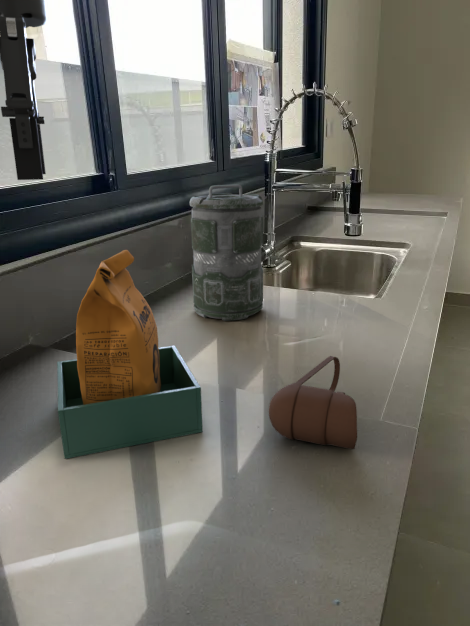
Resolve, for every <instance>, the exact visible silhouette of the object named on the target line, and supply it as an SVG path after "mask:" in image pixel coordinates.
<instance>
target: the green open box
mask: <svg viewBox="0 0 470 626" xmlns="http://www.w3.org/2000/svg"><path fill="white" fill-rule="evenodd" d="M158 349H159V364H160V366H159V369H160V380H161V389H160V392H158V393H152V394H146V395H140V396H134V397H127V398H121V399H115V400H109V401H103V402H97V403H91V404H85V405H83V400H82V394H81V388H80V380H79V375H78V369H77V358H74V359H68V360H59V361H57V362H56V366H57V367H56V368H57V369H56V370H57V374H56V375H57V415H58V422H59V430H60V436H61V442H62V450H63V456H64V457H63V458H64V459H65V460H67V459H72V458H78V457H82V456H87V455H92V454H97V453H102V452H108V451H112V450H117V449H123V448H129V447H134V446H138V445H143V444H148V443H154V442H158V441H164V440H168V439H173V438H179V437H183V436H189V435H195V434H199V433H203V431H204V430H203V407H202V406H203V405H202V404H203V403H202V387H201V385H200V384H199V382H198V380H197V379H196V378H195V375H194V374H193V373H192V371H191V369H190V367H189V366H188V365H187V363H186V361H185V360H184V358H183V357H182V355H181V353H180V352H179V350H178V349H177V347H176V346H175V345H169V346H162V347H158Z"/></svg>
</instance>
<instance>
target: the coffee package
mask: <svg viewBox="0 0 470 626" xmlns="http://www.w3.org/2000/svg"><path fill="white" fill-rule="evenodd" d="M134 261H135V257H134V256H133V254H131V252H130V251H129V250H128V249H123V250H122V251H120V252H118V253H116V254H114V255H112V256H110V257H108V258H106V259H104V260H101V262H100V264H99V265H98V268H97V269H96V272H95V275H94V277H93V279H92V280H91V282H90V284H89V286H88V288H87V290H86V293H85V295H84V296H83V298H82V299H81V302H80V305H79V308H78V311H77V314H76V321H75V322H76V325H75V329H76V330H75V346H76V347H75V348H76V349H75V350H76V359H77V369H78V375H79V380H80V388H81V394H82V400H83V405H85V404H91V403H97V402H103V401H109V400H115V399H121V398H127V397H134V396H140V395H146V394H152V393H158V392H160V389H161V380H160V369H159V366H160V364H159V349H158V348H159V332H158V325H157V322H156V319H155V316H154V313H153V310H152V308H151V306H150V305H149V303H148V302H147V300H146V299H145V298H144V296H143V294H142V292H140V291H139V289H137V287H136V286H135V284H134V280H133V278H132V276H131V274H130V271H129V270H127V268H128V267H129V266H131V265H132V264H133V263H134Z"/></svg>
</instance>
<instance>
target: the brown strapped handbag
mask: <svg viewBox="0 0 470 626" xmlns="http://www.w3.org/2000/svg"><path fill="white" fill-rule="evenodd" d="M332 361H333V363H334V367H333V368H334V369H333V377H332V381H331V384H330V387H329V389H328V388H322V387H316V386H311V385H310V386H309V385H304V384H305V383H306V382H307V381H309V379H311V378H312V377H313V376H315V375H316V374H317V373H318V372H320V371H321V370H322V369H323V368H325V367H326V366H327V365H328V364H330V362H332ZM340 373H341V363H340V359H339V357H337V356H333V355H329V356H328V357H326V358H325V359H324V360H322V361H321V362H320V363H318V364H317V365H316V366H315V367H313V368H312V369H311V370H310V371H309V372H307V373H305V374H304V375H303V376H302V377H300V378H299V379H298V380H297V381H296V382H292V383H290V384H287V385H284V386H283V387H282V388H280V389H278V390H277V391H276V392H275V394H274V395H273V396H272V397H271V399H270V402H269V405H268V418H269V421H270V423H271V425H272V427H273V429H274V430H275V431H276V432H277V433H278V434H280V436H282V437H285V438H286V439H289V440H293V441H294V440H298V441H303V442H307V443H312V444H316V445H317V444H318V445H322V446H327V445H330V446H334V447H339V448H343V449H344V448H345V449H349V450H355V448H356V446H357V445H356V444H357V441H358V411H357V404H356V401H355V399H354V398H352V397H351V396H350V395H348V394H346V392H342V391H336V389H337V386H338V383H339V379H340Z"/></svg>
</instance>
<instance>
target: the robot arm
mask: <svg viewBox="0 0 470 626" xmlns="http://www.w3.org/2000/svg"><path fill="white" fill-rule="evenodd" d="M48 19H49V17H48V8H47V0H0V63H1V69H2V71H3V79H4V80H3V81H4V91H5V100H4V102H5V106H0V112H1V116H2V118H8V119H9V126H10V135H11V141H12V150H13V157H14V164H15V171H16V178H17V181H33V180H34V181H37V180H38V181H39V180H41V181H42V180H44V175H46V174H47V173H46V172H47V171H46V165H45V156H44V147H43V146H44V145H43V139H42V129H41V125H45V116H40V113H39V112H38V103H37V95H36V89H35V80H36V79H37V70H36V59H37V53H36V52H37V51H36V43H35V39H34V38H30V37H29V38H28V35H27V28H30V27H32V28H39V27H42V26H44V25H45V24H47V22H48Z"/></svg>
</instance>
